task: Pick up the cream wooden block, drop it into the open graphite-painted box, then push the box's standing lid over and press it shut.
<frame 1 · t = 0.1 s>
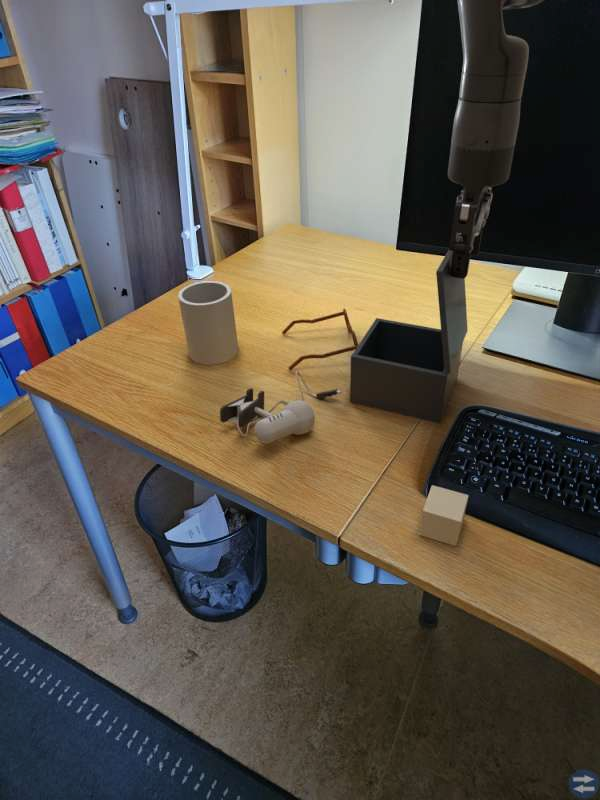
hand: (464, 264, 78), 22 cm above the table, tool pointing down
block: (441, 527, 69), on the table
box lid: (453, 304, 80), point 17 cm above the table, hinge at 79.0°, touching gripper
glasses: (319, 348, 103), on the table
clip-on lamp: (286, 420, 87), on the table
box: (404, 390, 92), on the table
cup: (213, 352, 104), on the table
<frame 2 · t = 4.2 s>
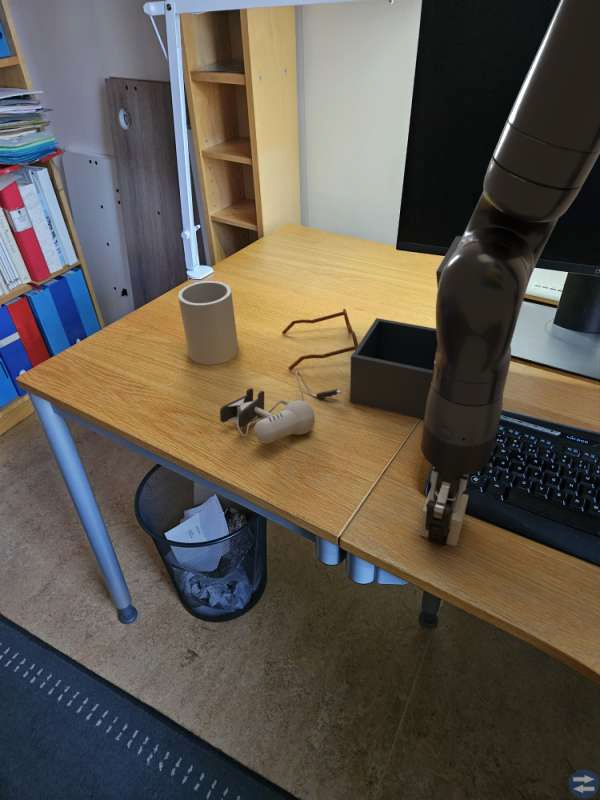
hand: (441, 525, 69), 0 cm above the table, tool pointing down, fingers closed on block, 4 cm apart
block: (441, 527, 69), on the table, touching gripper
box lid: (453, 304, 80), point 17 cm above the table, hinge at 79.0°
everything else where it was.
when the fingers open (7 cm above the table, at t = 13.3 s): block drops 6 cm, resting on box.
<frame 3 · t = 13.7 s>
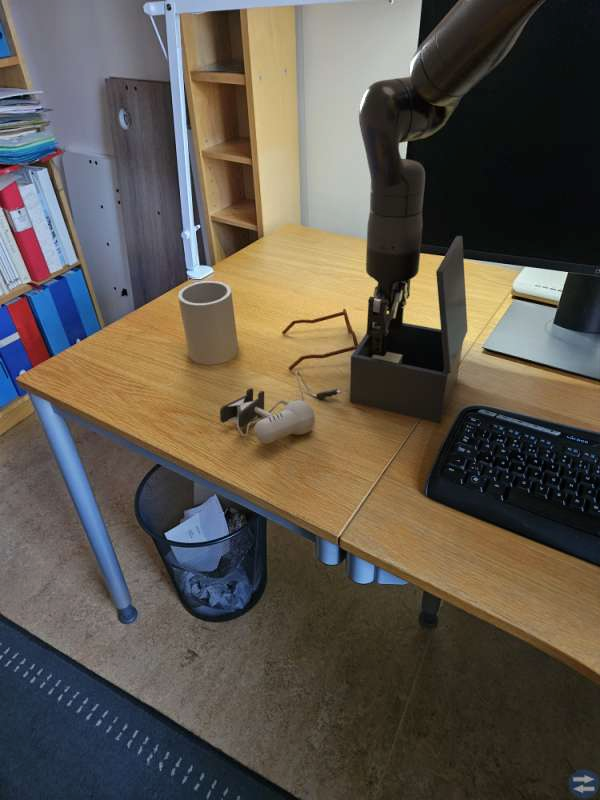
hand: (387, 340, 88), 9 cm above the table, tool pointing down, fingers open, 8 cm apart
block: (383, 381, 93), point 1 cm above the table, touching box
everything else where it was.
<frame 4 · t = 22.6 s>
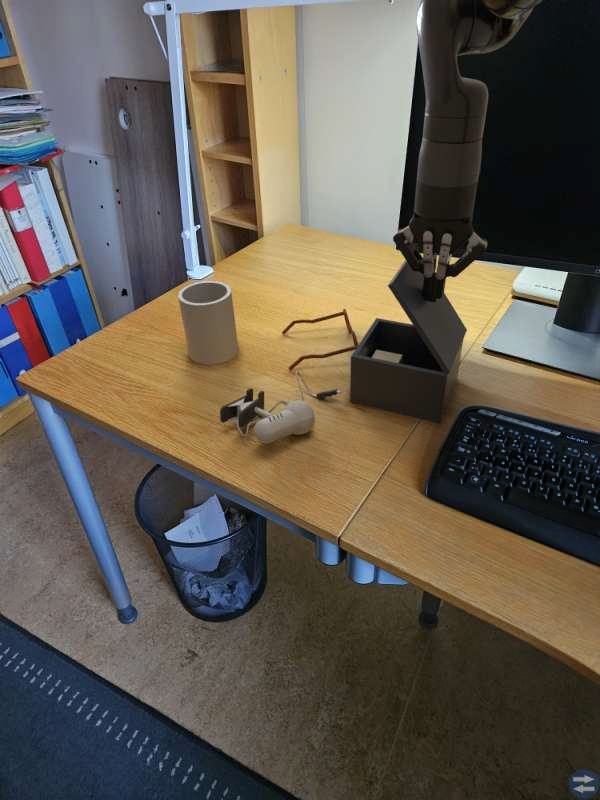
hand: (432, 299, 81), 17 cm above the table, tool pointing down, fingers closed
box lid: (430, 309, 82), point 15 cm above the table, hinge at 53.0°, touching gripper
everything else where it was.
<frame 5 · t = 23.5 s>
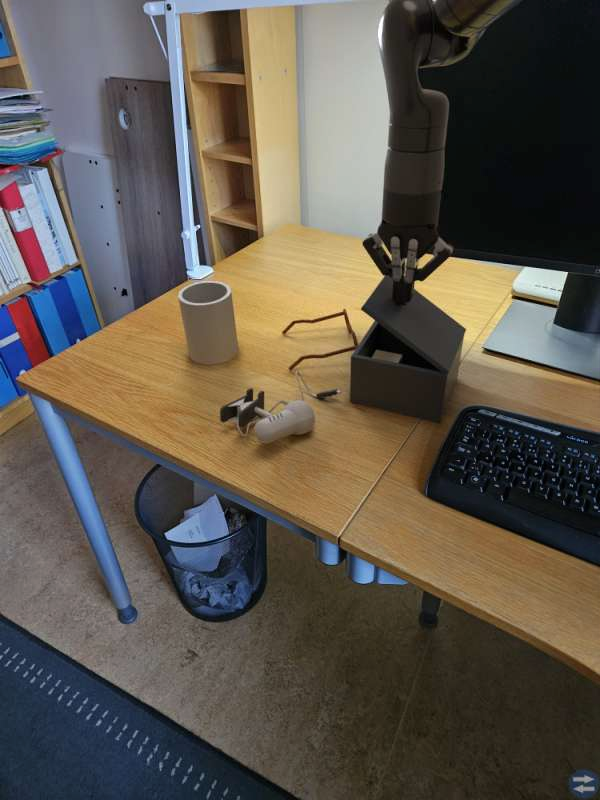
hand: (402, 302, 83), 16 cm above the table, tool pointing down, fingers closed
box lid: (416, 319, 84), point 13 cm above the table, hinge at 31.7°
everything else where it was.
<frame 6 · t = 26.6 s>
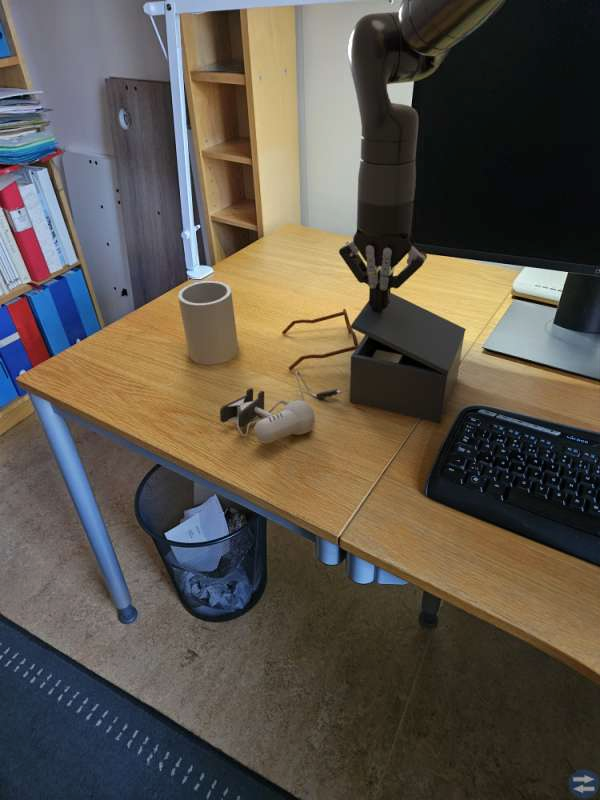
hand: (379, 308, 85), 14 cm above the table, tool pointing down, fingers closed
box lid: (410, 328, 85), point 12 cm above the table, hinge at 18.3°, touching gripper
everything else where it was.
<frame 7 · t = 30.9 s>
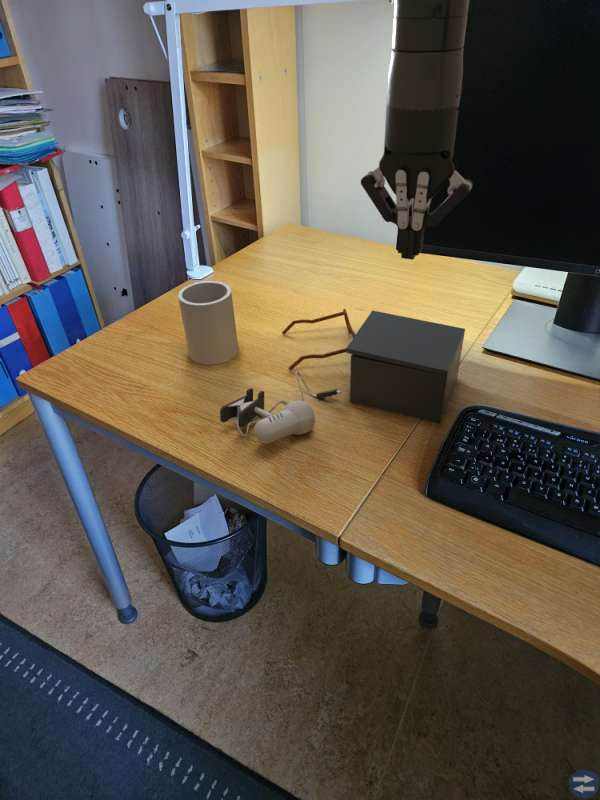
hand: (409, 256, 69), 27 cm above the table, tool pointing down, fingers closed
box lid: (406, 340, 86), point 9 cm above the table, hinge at 1.4°
everything else where it was.
at the end: block inside the target area in the box (3.6 cm from its centre), point 0.8 cm above the box's base; box lid at +1° (first picture: +79°) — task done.
